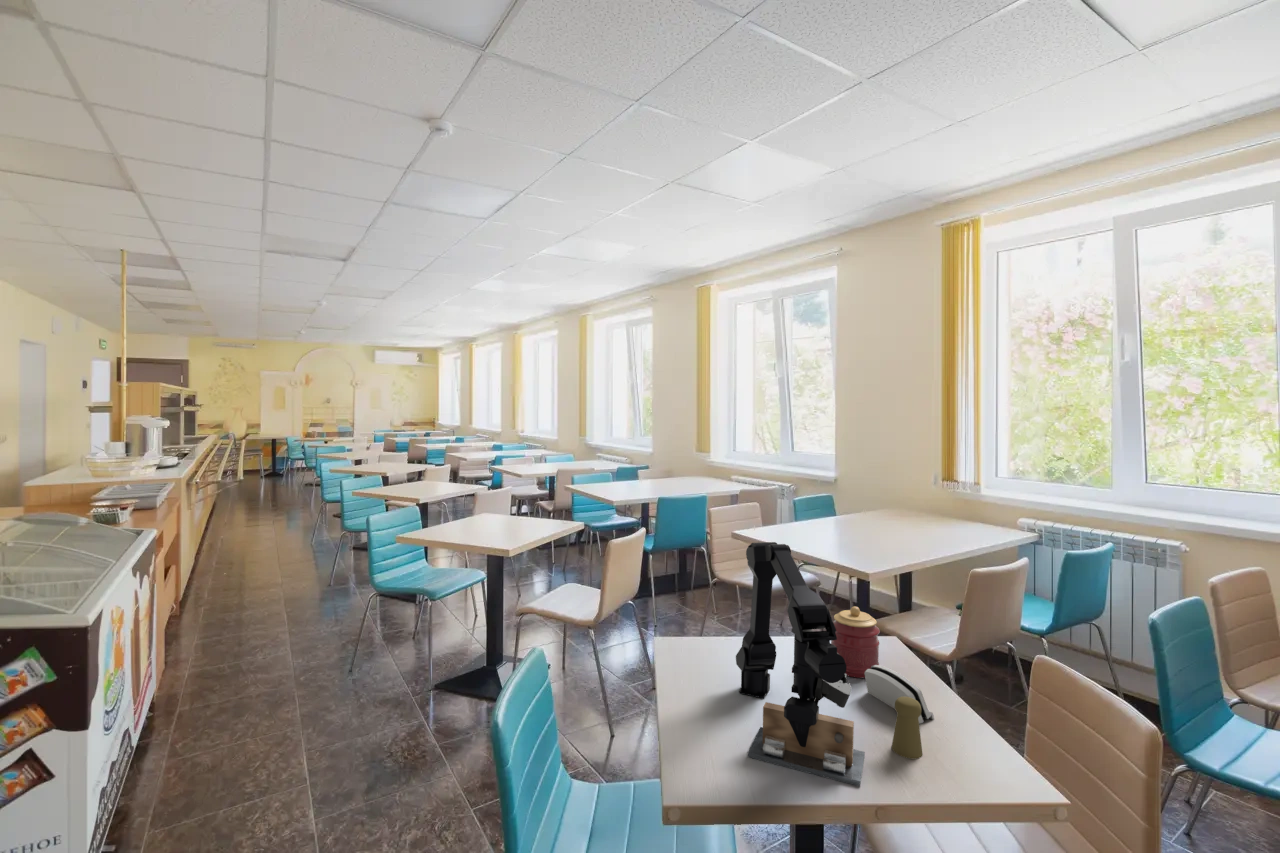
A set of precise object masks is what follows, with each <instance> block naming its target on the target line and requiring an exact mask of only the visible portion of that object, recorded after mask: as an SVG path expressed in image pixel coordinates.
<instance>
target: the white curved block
mask: <svg viewBox="0 0 1280 853" xmlns="http://www.w3.org/2000/svg"><path fill="white" fill-rule="evenodd" d="M864 674H865V678H864V679H865V684H866V689H867V693H868V694H870V695H871V696H873V697H874V698H876V699H877V700H879V701H881V702H882V703H883V704H886V705H888V706H889V707H891V708H893V709H894V710H895V701H896V700H897V698H899V697H903V696H904V697H910V698H913V699H915V700H917V701H918V702H919V703H920V705H921V715H920V716H919V717H918V719H919V725H921V724H923V723H924V719H926V720H929V719H931V720H935V716H934V713H933V711H931V710H930V709H929V707H928V706H927V703H926V701H925V700H926V699H925V696H924V695H923V693H922V690H921V689H920V688H919V687H918V686H917V685H916V684H915V683H913V681H911V680H909V679H908V678H907V677H906V676H904V675H903V674H902V673H900V672H897V671H896V670H894V669H891V668H889V667H887V666H884V665H880V664H879V665H874V666H872V667H871V669H867V670H866V671H865V673H864Z"/></svg>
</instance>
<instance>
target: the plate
mask: <svg viewBox="0 0 1280 853" xmlns="http://www.w3.org/2000/svg"><path fill="white" fill-rule="evenodd" d="M865 754H866V752H865V751H863V750H859V749H854V748H853V763H852V766H848V765H846V755H845V754H841V753H836V752H832V751H828V750H825V753H824V759H820V758H816V757H812V756H808V755H804V754H800V753H796V752H792V751H788V750H785V740H783V739H779V738H775V737H771V736H767V735H766V737H765V744H763V726H760V727H759V729H758V731H757V732H756V735H755V737H754V739H753V741H752V742H751V744H750V746H749V749H748V751H747V758H750V759H751V758H752V759H755V760H758V761H762V762H765V763H770V764H774V765H778V766H781V767H785V768H789V769H793V770H795V771H800V772H804V773H807V774H811V775H815V776H818V777H822V778H827V779H831V780H833V781H834V780H835V781H839V782H842V783H846V784H850V785H853V786H857V787H861V783H862V778H863V777H862V776H863V770H864V765H865V757H866V756H865Z"/></svg>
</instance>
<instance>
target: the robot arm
mask: <svg viewBox="0 0 1280 853" xmlns="http://www.w3.org/2000/svg"><path fill="white" fill-rule="evenodd" d="M745 556H746V561H747V566H748V567H749V570H750V571H751V573H752V576H753V577H752V593H751V605H750V606H751V608H750V622H749V625H750V626H749V630H748V631H747V632H746V633H745V635H744V636H743V638H742V643H741V647H740V648H739V649H738V652H737V653H736V655H735V664H736V666H737V667H738V668H739V669H740V673H741V674H740V676H741V677H740V678H741V679H740V682H741V683H740V689H739V690H738V693H739V694H741V695H747V696H751V697H755V698H761V699H765V698H766V695H768V693H769V692H770V689H771V685H770V684H771V674H770V673H769V670H771V671H772V670H774V669H775V664H776V659H777V651H776V650H777V646H776V644H775V642H774V641H773V639H772V637H771V634H770V627H771V626H770V623H771V613H772V612H771V611H772V610H771V609H772V595H773V584H774V583H773V580H774V579H775V577H776V576H777V578H778V580H779V583H780V584H781V586H782V589H783V591H784V592H785V595H786V597H787V599H788V605H787V608H786V611H787V614H788V616H787V617H788V620H789V622H790V625H791V627H792V628H791V632H792V633H793V634H794V638H793V642H794V644H793V648H794V649H793V656H794V657H793V665H792V667H791V673H792V674H793V683H792V686H791V693H794V694H797V695H798V696H799V697H796V696H791V697H789V698H788V699H787V700H786V702H785V705H783V706H784V717H785V718H786V719H787V720H788V721H789V723H790V725H791V727H792V729H793V731H794V733H795V736H796V738H797V740H798V742H799V745H800V746H801V747H806V743H807V739H808V734H809V729H810V726H812V725H815V724H816V723H817V720H818V715H819V714H820V706H819V701H821V700H822V699H823V698H825V699H827V700H828V701H830V702H832V703H834V704H836V706H837V707H839V708H840V709H841V708H842V709H844V708H845V707H846V705H847V702H848V700H849V698H850V696H851V693H852V689H853V688H852V686H851V683H850V682H848V676H847V674H845V673H846V668H847V666H846V663H845V660H844V658H843V657H842V656H841V655H839V654H838V653H837V647H836V646H835V645H832V644H831V640H837V637H836V633H835V632H836V628H835V626H834V623H833V621H834V620H833V617H832V616H831V613H830V611H829V607H828V606H827V604H826V603H825V601H823V599H822V598H821V596H820V595H819V594H818V593H817V592H816V591H813V590H812V589H810V588H809V587H808V584H807V583H806V580H805V579H804V577H803V575H802V573H801V571H800V569H799V567H798V565H797V563H796V562H795V560H794V557H793V555H792V550H791V547H790V546H789V545H788V544H785V543H777V542H776V541H771V542H770V541H767V542H766V541H765V542H761V541H760V542H750V544H749V545H748V546H747V548H746V552H745ZM823 629H825V630H823ZM814 630H815V631H814ZM817 630H818V631H817Z"/></svg>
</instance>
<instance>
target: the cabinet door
mask: <svg viewBox="0 0 1280 853" xmlns="http://www.w3.org/2000/svg"><path fill="white" fill-rule="evenodd" d="M784 706H785V705H782V704H776V703H773V702H767V701H766V702H765V703H764V704H763V708H762V727H763V744H765V737H766V735H767V736H771V737H775V738H779V739H783V740H785V750H788V751H792V752H796V753H800V754H804V755H808V756H812V757H816V758H820V759H824V753H825V750H828V751H832V752H836V753H841V754H845V755H846V765H848V766H852V763H853V749H854V734H855V733H854V732H855V731H854V728H855V725H854V724H855V721H853V720H851V719H849V720H848V719H845V718H839V717H836V716H831V715H827V714H823V713H819V715H818V720H817V723H816V724H815V725H812V726H810V729H809V734H808V739H807V743H806V747H801V746H800V745H799V742H798V740H797V738H796V736H795V733H794V731H793V729H792V727H791V725H790V723H789V721H788V720H787V719H786V718H785V717H784Z"/></svg>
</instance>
